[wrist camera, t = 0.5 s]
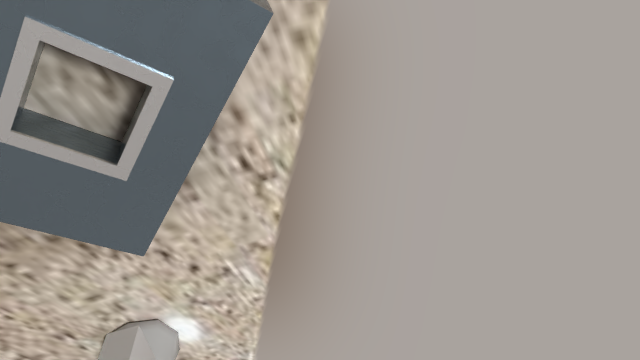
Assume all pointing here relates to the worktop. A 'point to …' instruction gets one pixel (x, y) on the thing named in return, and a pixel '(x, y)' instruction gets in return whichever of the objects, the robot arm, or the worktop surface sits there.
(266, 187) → the worktop surface
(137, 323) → the flask
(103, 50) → the plate
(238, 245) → the worktop surface
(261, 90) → the worktop surface
